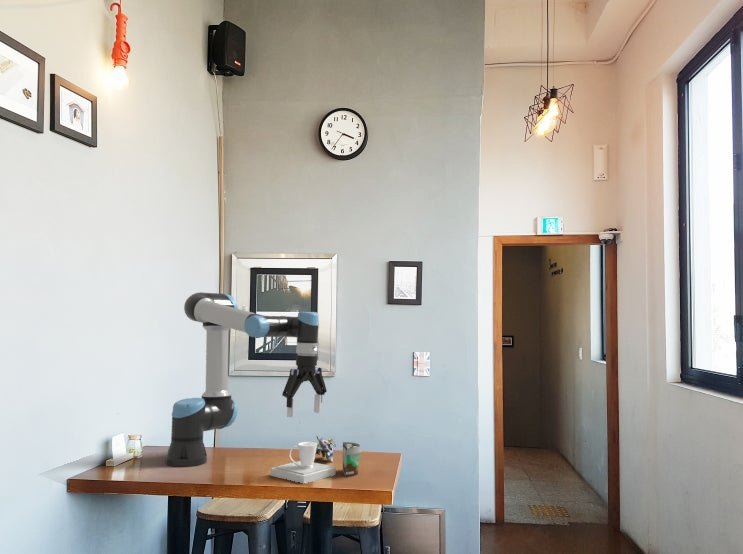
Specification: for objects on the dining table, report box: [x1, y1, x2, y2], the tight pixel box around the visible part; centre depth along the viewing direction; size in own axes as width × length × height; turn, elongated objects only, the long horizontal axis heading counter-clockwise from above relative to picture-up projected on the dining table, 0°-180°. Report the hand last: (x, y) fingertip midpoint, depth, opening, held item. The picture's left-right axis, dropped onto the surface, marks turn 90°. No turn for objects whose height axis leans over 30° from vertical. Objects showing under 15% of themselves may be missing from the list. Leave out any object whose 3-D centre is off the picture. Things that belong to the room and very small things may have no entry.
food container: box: [342, 441, 363, 477], centre depth 216 cm, size 12×6×10 cm, turn 9°
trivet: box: [270, 460, 336, 485], centre depth 212 cm, size 16×16×3 cm
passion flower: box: [315, 435, 337, 463], centre depth 234 cm, size 11×11×12 cm
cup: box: [288, 441, 318, 469], centre depth 212 cm, size 7×10×8 cm
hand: (304, 414), depth 214 cm, fingers open, 13 cm apart
